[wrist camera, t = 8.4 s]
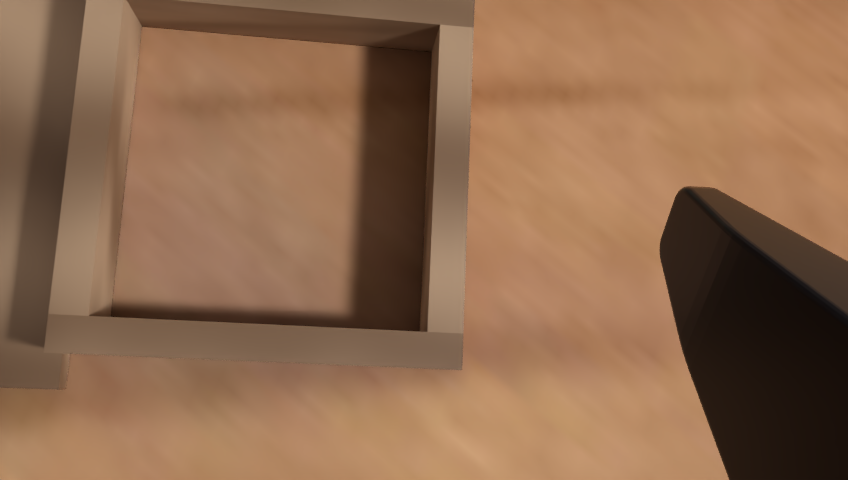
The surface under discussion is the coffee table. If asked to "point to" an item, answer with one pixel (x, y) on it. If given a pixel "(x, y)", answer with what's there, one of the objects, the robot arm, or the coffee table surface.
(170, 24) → the wooden double frame
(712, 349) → the robot arm
